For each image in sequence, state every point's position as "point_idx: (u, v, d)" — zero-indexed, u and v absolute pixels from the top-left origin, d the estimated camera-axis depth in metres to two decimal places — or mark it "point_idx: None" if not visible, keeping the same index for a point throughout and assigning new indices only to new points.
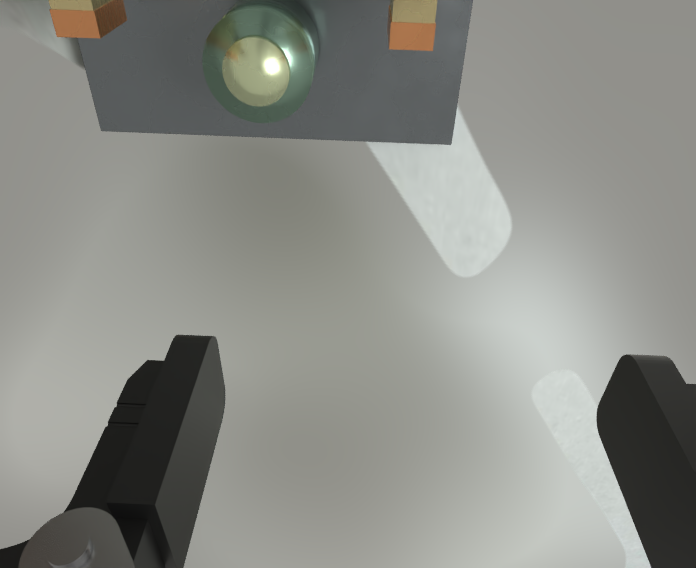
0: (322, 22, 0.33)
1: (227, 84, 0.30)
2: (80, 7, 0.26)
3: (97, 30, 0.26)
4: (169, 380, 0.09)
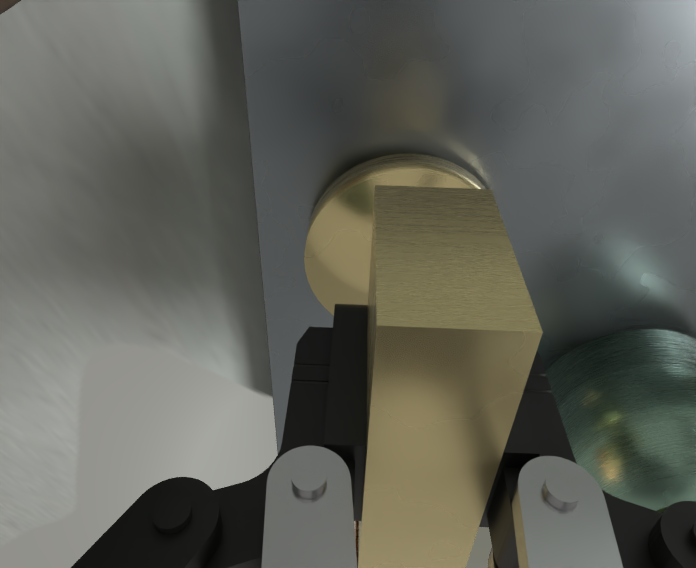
0: None
1: None
2: None
3: None
4: (344, 342, 0.10)
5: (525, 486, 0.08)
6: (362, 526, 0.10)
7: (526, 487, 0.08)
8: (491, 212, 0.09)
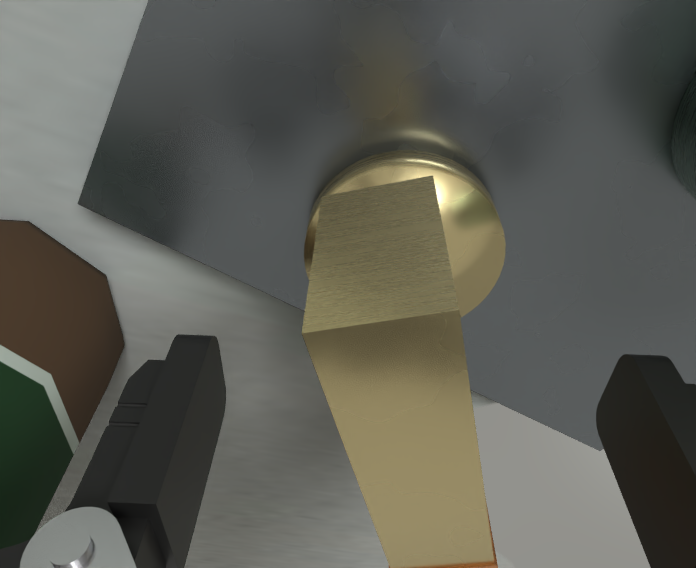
0: None
1: None
2: (463, 562, 0.11)
3: None
4: (170, 380, 0.09)
5: None
6: (374, 522, 0.10)
7: None
8: (429, 199, 0.09)
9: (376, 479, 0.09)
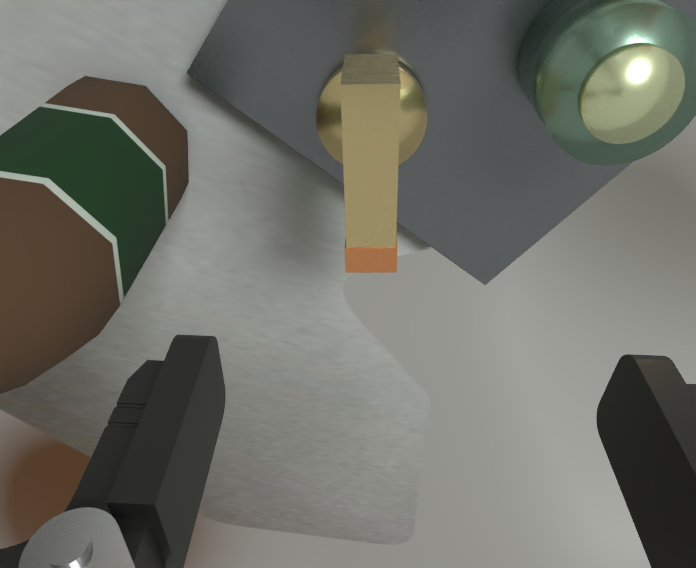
0: None
1: (607, 140, 0.22)
2: (381, 245, 0.22)
3: (395, 265, 0.23)
4: (169, 380, 0.09)
5: None
6: (345, 207, 0.21)
7: None
8: (394, 59, 0.20)
9: (352, 176, 0.20)
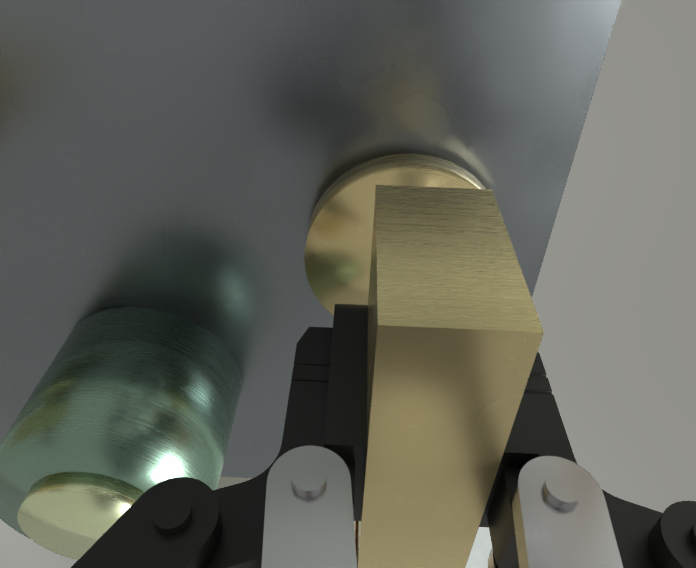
0: (244, 348, 0.18)
1: (36, 540, 0.15)
2: None
3: None
4: (343, 342, 0.10)
5: (525, 485, 0.08)
6: None
7: (526, 487, 0.08)
8: None
9: None
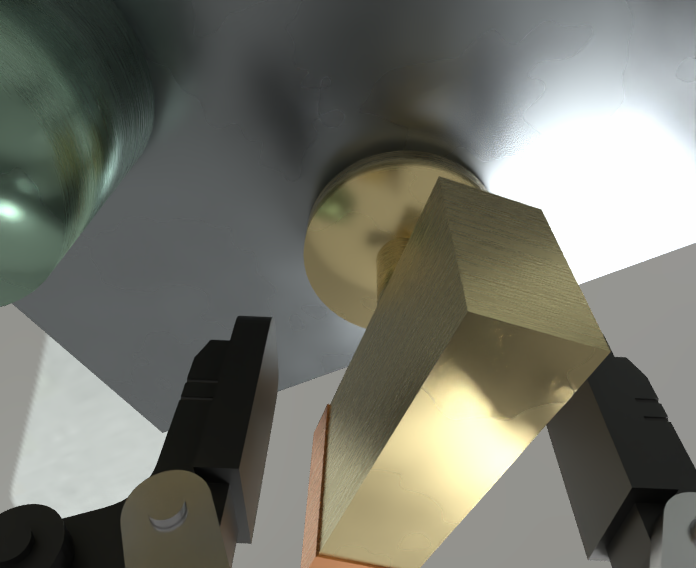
0: (161, 162, 0.14)
1: None
2: None
3: None
4: (237, 357, 0.10)
5: (672, 514, 0.08)
6: None
7: (674, 527, 0.07)
8: None
9: None
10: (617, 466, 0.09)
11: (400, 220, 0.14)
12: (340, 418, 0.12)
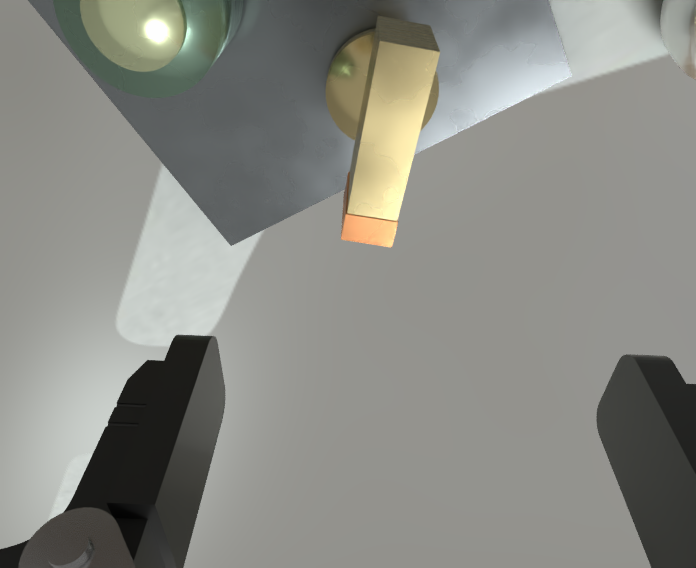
0: (244, 41, 0.25)
1: None
2: None
3: None
4: (169, 380, 0.09)
5: None
6: None
7: None
8: None
9: None
10: None
11: None
12: (352, 162, 0.23)
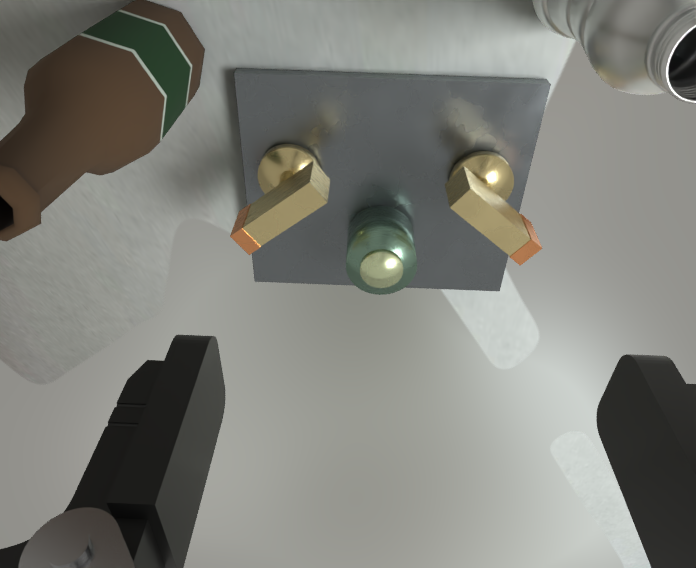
0: (417, 222, 0.50)
1: (362, 276, 0.46)
2: (256, 240, 0.42)
3: (252, 252, 0.42)
4: (169, 380, 0.09)
5: None
6: (260, 216, 0.40)
7: None
8: (328, 183, 0.42)
9: (276, 210, 0.40)
10: None
11: None
12: None
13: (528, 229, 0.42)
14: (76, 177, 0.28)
